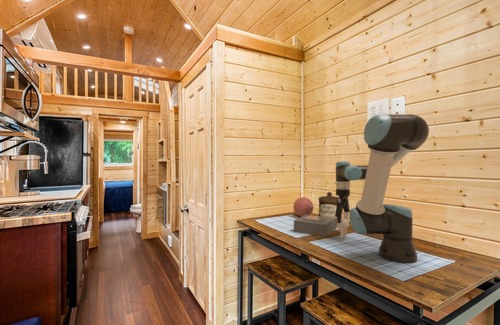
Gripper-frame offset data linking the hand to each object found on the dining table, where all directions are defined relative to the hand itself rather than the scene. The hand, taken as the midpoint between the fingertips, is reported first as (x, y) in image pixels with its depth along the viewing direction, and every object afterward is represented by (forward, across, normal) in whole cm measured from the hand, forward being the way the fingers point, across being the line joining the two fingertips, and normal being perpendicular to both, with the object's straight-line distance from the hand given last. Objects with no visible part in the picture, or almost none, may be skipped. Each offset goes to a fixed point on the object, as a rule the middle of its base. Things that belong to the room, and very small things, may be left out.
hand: (342, 226), depth 145 cm
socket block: (+7, -7, -19) cm, 21 cm away
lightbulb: (+7, 0, 0) cm, 7 cm away
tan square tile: (+2, -7, -19) cm, 20 cm away
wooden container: (+8, -30, -17) cm, 35 cm away
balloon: (+8, -38, -39) cm, 54 cm away
